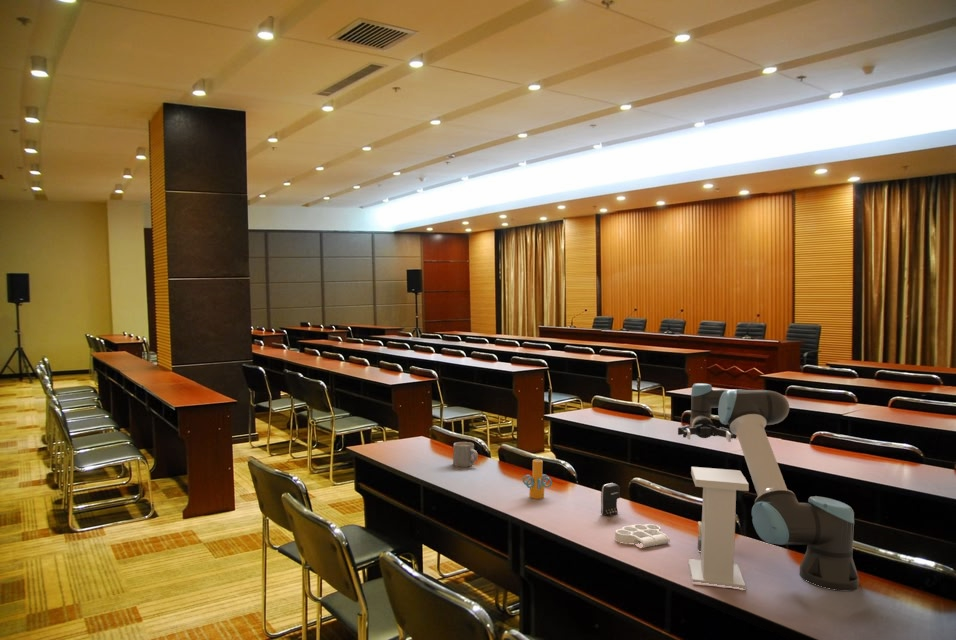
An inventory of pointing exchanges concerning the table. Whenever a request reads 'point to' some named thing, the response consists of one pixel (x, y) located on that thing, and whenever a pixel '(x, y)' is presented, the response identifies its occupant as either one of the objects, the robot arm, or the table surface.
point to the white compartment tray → (642, 535)
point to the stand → (718, 526)
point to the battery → (609, 499)
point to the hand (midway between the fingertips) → (709, 436)
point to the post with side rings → (537, 480)
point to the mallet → (700, 535)
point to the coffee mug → (464, 454)
